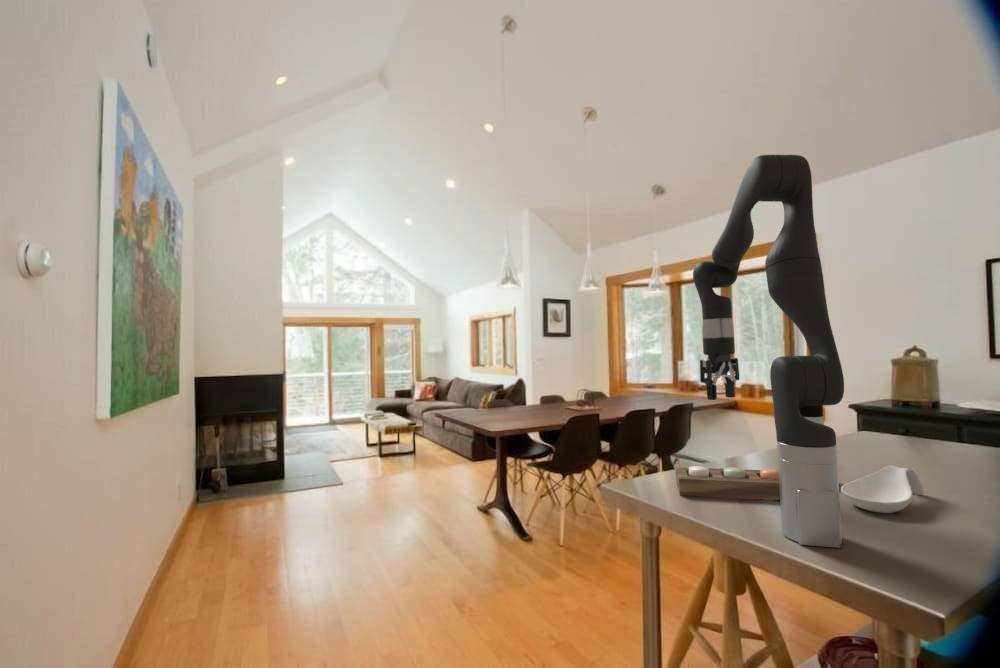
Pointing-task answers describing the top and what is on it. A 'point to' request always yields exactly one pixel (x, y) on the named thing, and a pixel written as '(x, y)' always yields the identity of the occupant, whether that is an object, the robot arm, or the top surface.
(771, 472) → the terracotta button
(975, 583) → the top surface
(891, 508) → the spoon rest
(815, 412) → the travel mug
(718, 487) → the button panel
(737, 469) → the sage button
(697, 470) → the cream button
